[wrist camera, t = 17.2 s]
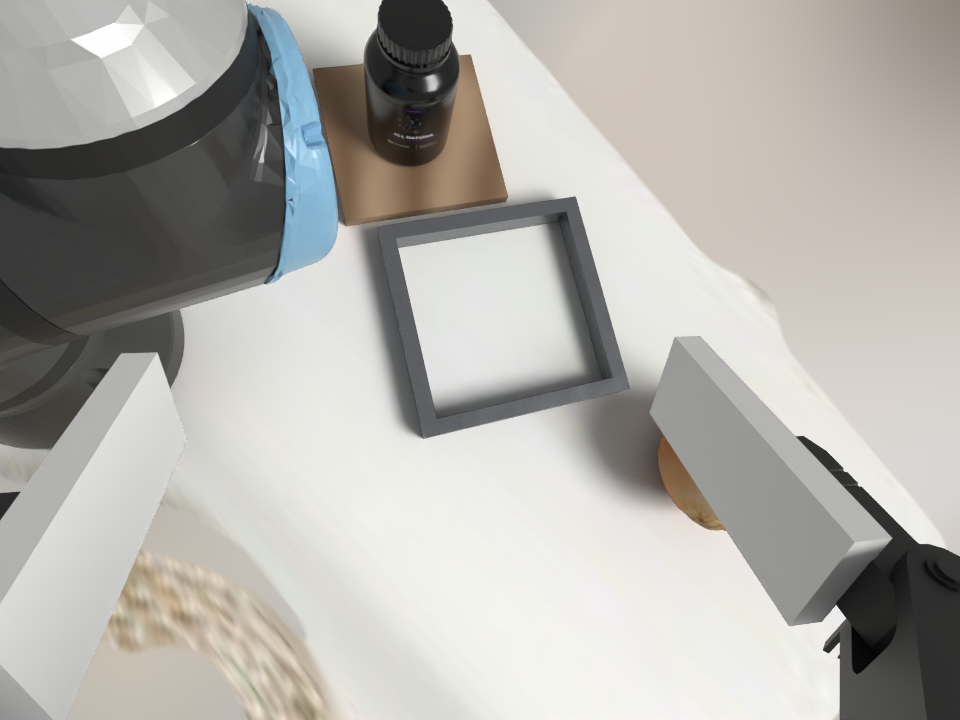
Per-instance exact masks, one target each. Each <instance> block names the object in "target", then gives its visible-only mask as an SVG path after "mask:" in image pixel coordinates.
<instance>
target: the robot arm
mask: <svg viewBox="0 0 960 720" xmlns="http://www.w3.org/2000/svg"><path fill="white" fill-rule="evenodd" d="M337 231H338V208H337V197H336V190H335V183H334V177H333V171H332V166H331V161H330V157H329V152H328V148H327V145H326V142H325V140H324V138H323V136H322V134H321V123H320V118H319V112H318V106H317V102H316V98H315V94H314V91H313V88H312V84H311V81H310V78H309V75H308V72H307V69H306V66H305V63H304V60H303V57H302V54H301V52H300V49H299V47H298V44H297V42H296V40H295V38H294V36H293V34H292V32H291V30H290V28H289V26H288V24H287V22H286V21H285V19H284V18H283V17H282V16H281V15H280V14H279V13H278V12H277V11H275V10H273V9H270V8H260V7H258V6H252V3H251V4H248V5H247V3H246V0H0V444H4V445H8V446H12V447H18V448H25V449H48V450H51V451H50V452H49V454H48V455H47V456H46V458H45V459H44V461H43V462H42V463H41V465H40V466H39V468H38V469H37V470H36V472H35V473H34V474H33V476H32V477H31V479H30V480H29V481H28V483H27V484H26V485H25V487H24V488H23V490H22V491H21V492H11V493H0V720H66V719H67V716H68V714H69V712H70V710H71V707H72V705H73V703H74V700H75V698H76V696H77V693H78V691H79V689H80V686H81V684H82V682H83V679H84V677H85V675H86V673H87V670H88V668H89V666H90V663H91V661H92V659H93V656H94V654H95V652H96V649H97V647H98V645H99V643H100V640H101V638H102V636H103V633H104V631H105V629H106V626H107V624H108V622H109V619H110V617H111V615H112V612H113V610H114V608H115V606H116V603H117V601H118V599H119V596H120V594H121V592H122V589H123V587H124V585H125V582H126V580H127V578H128V576H129V573H130V571H131V569H132V566H133V564H134V562H135V559H136V557H137V555H138V552H139V550H140V548H141V546H142V543H143V541H144V538H145V536H146V534H147V531H148V529H149V527H150V525H151V522H152V520H153V518H154V515H155V513H156V511H157V509H158V506H159V504H160V502H161V499H162V497H163V495H164V492H165V490H166V488H167V485H168V483H169V481H170V479H171V476H172V474H173V472H174V469H175V467H176V465H177V462H178V460H179V458H180V455H181V453H182V451H183V448H184V446H185V444H186V442H187V436H186V433H185V430H184V427H183V425H182V422H181V419H180V416H179V413H178V410H177V407H176V404H175V402H174V399H173V396H172V393H171V390H170V388H171V386H172V384H173V382H174V380H175V378H176V376H177V373H178V371H179V368H180V364H181V361H182V356H183V350H184V328H183V322H182V317H181V314H180V311H179V309H181V308H184V307H188V306H191V305H194V304H198V303H201V302H204V301H208V300H211V299H214V298H218V297H221V296H224V295H228V294H231V293H234V292H238V291H241V290H244V289H248V288H251V287H254V286H258V285H261V284H270V283H273V282H275V281H277V280H278V279H279V278H280V277H281V276H282V275H284V274H287V273H290V272H292V271H295V270H297V269H300V268H303V267H305V266H308V265H311V264H313V263H316V262H318V261H320V260H322V259H323V258H324V257H325V256H326V255H327V254H328V253H329V252H330V250H331V249H332V247H333V245H334V243H335V241H336V237H337ZM649 413H650V415H651V416H652V418H653V419H654V421H655V422H656V424H657V425H658V427H659V429H660V430H661V432H662V433H663V435H664V436H665V438H666V439H667V441H668V442H669V444H670V445H671V447H672V448H673V450H674V451H675V453H676V454H677V456H678V458H679V459H680V461H681V462H682V464H683V465H684V467H685V468H686V470H687V471H688V473H689V474H690V476H691V477H692V479H693V480H694V482H695V483H696V485H697V487H698V488H699V490H700V491H701V493H702V494H703V496H704V497H705V499H706V500H707V502H708V503H709V505H710V506H711V508H712V509H713V511H714V513H715V514H716V516H717V517H718V519H719V520H720V522H721V523H722V525H723V526H724V528H725V529H726V531H727V532H728V534H729V535H730V537H731V538H732V540H733V542H734V543H735V545H736V546H737V548H738V549H739V551H740V552H741V554H742V555H743V557H744V558H745V560H746V561H747V563H748V564H749V566H750V567H751V569H752V571H753V572H754V574H755V575H756V577H757V578H758V580H759V581H760V583H761V584H762V586H763V587H764V589H765V590H766V592H767V593H768V595H769V597H770V598H771V600H772V601H773V603H774V604H775V606H776V607H777V609H778V610H779V612H780V613H781V615H782V616H783V618H784V619H785V621H786V622H787V624H788V626H795V625H802V624H809V623H816V622H822V621H823V620H824V618H825V617H826V616H827V615H828V614H829V613H830V611H831V610H832V609H833V608H834V607H835V605H837V606H838V608H839V609H840V610H841V612H842V613H843V614H844V616H845V617H846V620H845V621H844V622H843V623H842V624H841V625H840V626H839V627H838V629H837V630H836V631H835V632H834V633H833V634H832V635H831V636H830V637H829V639H828V640H827V641H826V642H825V645H824V648H823V651H825V652H827V653H830V652H831V651H832V649H833V648H834V647H835V646H836V645H837V644H838V643H839V642H840V655H839V656H838V658H839V659H840V720H960V556H958V555H956V554H953V553H952V552H950V551H948V550H946V549H944V548H940V547H937V546H933V545H930V544H918V543H917V542H916V541H915V540H914V539H913V538H912V537H911V536H910V535H909V534H908V533H907V532H906V531H905V530H904V529H903V528H902V527H901V526H900V525H899V524H898V523H897V522H896V521H895V520H894V519H893V518H892V517H891V516H890V515H889V514H888V513H887V512H886V511H885V510H884V509H883V508H882V507H881V506H880V505H879V504H878V503H877V502H876V501H875V500H874V499H873V498H872V497H871V496H870V495H869V494H868V493H867V492H866V491H865V490H864V489H863V488H862V487H859V486H858V483H857V482H856V481H855V480H854V479H853V477H852V476H851V475H850V474H849V473H848V472H844V471H843V469H844V468H843V467H842V466H841V465H840V464H839V463H838V462H837V461H836V460H835V459H834V458H833V457H832V456H831V455H830V454H829V453H828V452H827V451H826V450H824V449H822V448H821V447H819V446H818V445H816V444H815V443H813V442H812V441H810V440H809V439H807V438H806V437H804V436H795V435H794V434H793V433H792V432H791V431H790V430H789V429H788V428H787V427H786V426H785V425H784V424H783V423H782V422H781V421H780V420H779V419H778V418H777V417H776V415H775V414H774V413H773V412H772V411H771V410H770V409H769V408H768V407H767V406H766V405H765V404H764V403H763V402H762V401H761V400H760V399H759V398H758V397H757V396H756V394H755V393H754V392H753V391H752V390H751V389H750V388H749V387H748V386H747V385H746V384H745V383H744V382H743V381H742V380H741V379H740V378H739V377H738V376H737V375H736V374H735V372H734V371H733V370H732V369H731V368H730V367H729V366H728V365H727V364H726V363H725V362H724V361H723V360H722V359H721V358H720V357H719V356H718V355H717V354H716V353H715V351H714V350H713V349H712V348H711V347H710V346H709V345H708V344H707V343H706V342H705V341H704V340H703V339H702V338H701V337H700V336H692V337H675V338H674V341H673V344H672V347H671V350H670V353H669V356H668V359H667V362H666V365H665V368H664V371H663V374H662V377H661V379H660V382H659V385H658V388H657V391H656V394H655V397H654V400H653V403H652V406H651V409H650V412H649Z"/></svg>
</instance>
